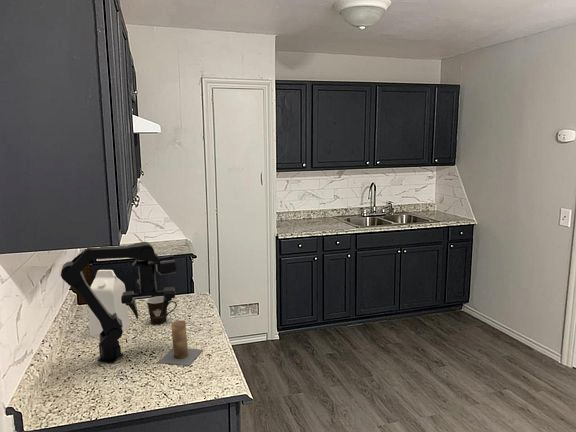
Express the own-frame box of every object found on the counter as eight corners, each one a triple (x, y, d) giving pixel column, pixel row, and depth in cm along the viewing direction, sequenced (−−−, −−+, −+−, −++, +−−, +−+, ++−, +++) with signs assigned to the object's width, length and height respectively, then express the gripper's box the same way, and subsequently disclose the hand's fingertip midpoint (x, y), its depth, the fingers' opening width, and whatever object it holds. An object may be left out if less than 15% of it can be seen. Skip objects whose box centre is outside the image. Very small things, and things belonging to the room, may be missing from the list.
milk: (130, 325, 193) (125, 266, 189) (118, 336, 182) (112, 274, 178) (103, 324, 194) (98, 266, 190) (89, 336, 183) (83, 274, 179)
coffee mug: (144, 324, 193) (142, 302, 191) (155, 317, 201) (153, 295, 200) (169, 326, 190) (167, 304, 189) (178, 319, 198) (177, 297, 197)
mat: (157, 362, 159) (157, 362, 159) (173, 347, 171) (173, 347, 171) (189, 366, 156) (189, 365, 156) (203, 350, 168) (203, 349, 168)
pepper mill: (171, 358, 162) (168, 325, 160) (177, 351, 166) (175, 320, 164) (184, 359, 161) (181, 326, 158) (190, 353, 165) (187, 320, 163)
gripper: (173, 268, 175) (176, 306, 177) (122, 273, 170) (126, 312, 173) (173, 276, 164) (176, 317, 167) (119, 281, 159) (123, 323, 162)
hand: (150, 317), depth 167 cm, fingers open, 9 cm apart
